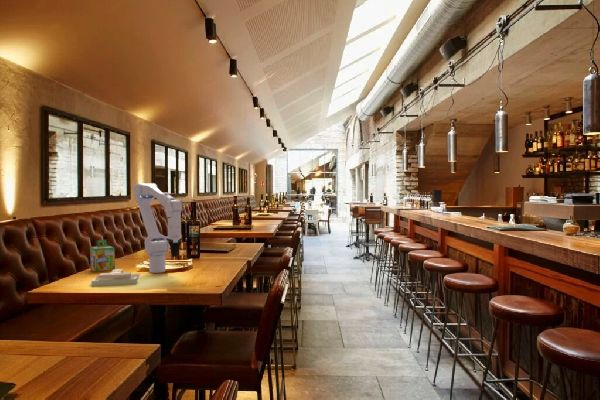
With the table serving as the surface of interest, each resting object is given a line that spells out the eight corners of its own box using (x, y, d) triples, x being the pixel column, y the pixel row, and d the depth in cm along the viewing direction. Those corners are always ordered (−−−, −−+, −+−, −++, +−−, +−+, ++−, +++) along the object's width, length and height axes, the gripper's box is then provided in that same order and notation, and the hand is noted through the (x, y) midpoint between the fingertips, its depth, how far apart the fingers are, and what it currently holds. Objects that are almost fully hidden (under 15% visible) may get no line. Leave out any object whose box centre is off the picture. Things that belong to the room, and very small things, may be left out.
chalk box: (96, 273, 222) (95, 242, 222) (89, 270, 229) (89, 240, 229) (115, 270, 228) (115, 240, 228) (109, 268, 235) (108, 238, 235)
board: (97, 277, 212) (97, 275, 212) (140, 275, 216) (140, 273, 216) (89, 288, 190) (89, 286, 190) (136, 286, 195) (136, 283, 195)
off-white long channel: (93, 283, 195) (93, 278, 195) (137, 281, 200) (136, 276, 200) (91, 286, 191) (91, 281, 190) (136, 283, 195) (135, 278, 195)
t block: (103, 279, 204) (103, 270, 204) (132, 277, 207) (132, 268, 207) (98, 285, 192) (98, 275, 192) (130, 283, 195) (129, 273, 195)
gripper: (164, 225, 217) (164, 254, 218) (165, 228, 203) (166, 259, 204) (180, 225, 219) (180, 254, 220) (182, 227, 205) (182, 258, 206)
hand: (174, 256), depth 212 cm, fingers closed
